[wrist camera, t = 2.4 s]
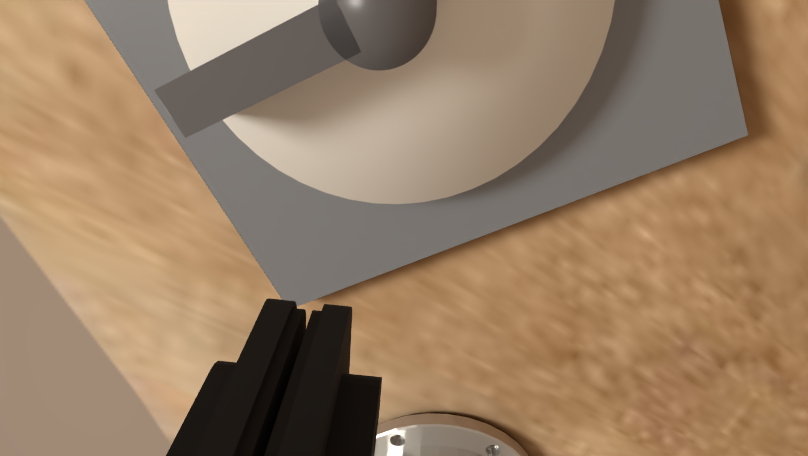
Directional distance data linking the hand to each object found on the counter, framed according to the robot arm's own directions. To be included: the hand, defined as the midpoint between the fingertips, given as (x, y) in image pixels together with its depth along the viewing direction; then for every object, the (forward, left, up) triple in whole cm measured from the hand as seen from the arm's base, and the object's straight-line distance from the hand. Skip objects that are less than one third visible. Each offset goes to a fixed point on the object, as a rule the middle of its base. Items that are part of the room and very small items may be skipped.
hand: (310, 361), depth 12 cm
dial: (+5, -3, -14) cm, 15 cm away
